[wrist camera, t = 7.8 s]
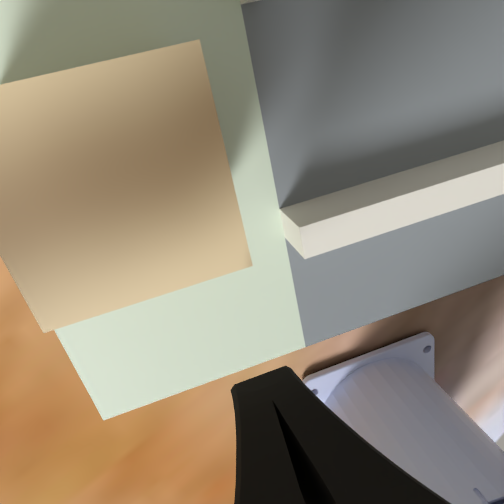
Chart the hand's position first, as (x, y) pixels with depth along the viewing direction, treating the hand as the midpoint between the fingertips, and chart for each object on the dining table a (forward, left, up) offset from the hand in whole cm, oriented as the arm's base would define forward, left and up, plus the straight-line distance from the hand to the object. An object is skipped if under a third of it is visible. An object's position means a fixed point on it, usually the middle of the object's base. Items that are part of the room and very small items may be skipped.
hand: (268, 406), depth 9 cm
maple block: (+5, +2, -7) cm, 9 cm away
